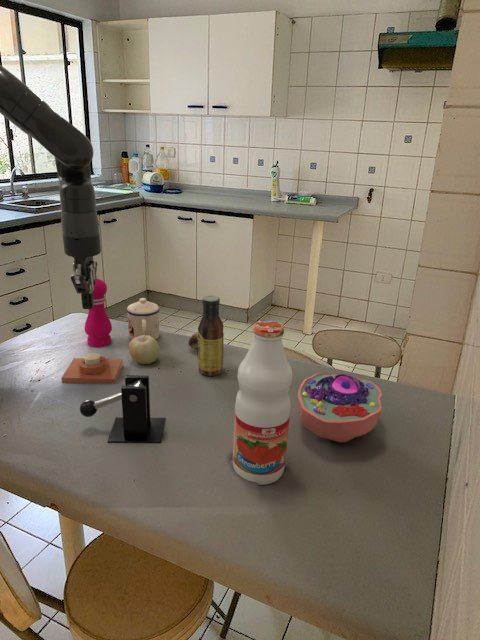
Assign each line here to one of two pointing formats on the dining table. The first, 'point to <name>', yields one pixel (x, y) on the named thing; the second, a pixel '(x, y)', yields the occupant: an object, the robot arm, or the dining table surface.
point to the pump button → (92, 359)
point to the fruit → (144, 349)
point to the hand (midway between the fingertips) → (88, 308)
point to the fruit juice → (263, 407)
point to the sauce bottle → (210, 338)
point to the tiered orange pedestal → (93, 371)
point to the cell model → (339, 405)
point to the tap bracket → (136, 415)
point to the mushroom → (194, 341)
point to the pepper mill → (98, 318)
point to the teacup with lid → (143, 319)
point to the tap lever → (102, 402)
